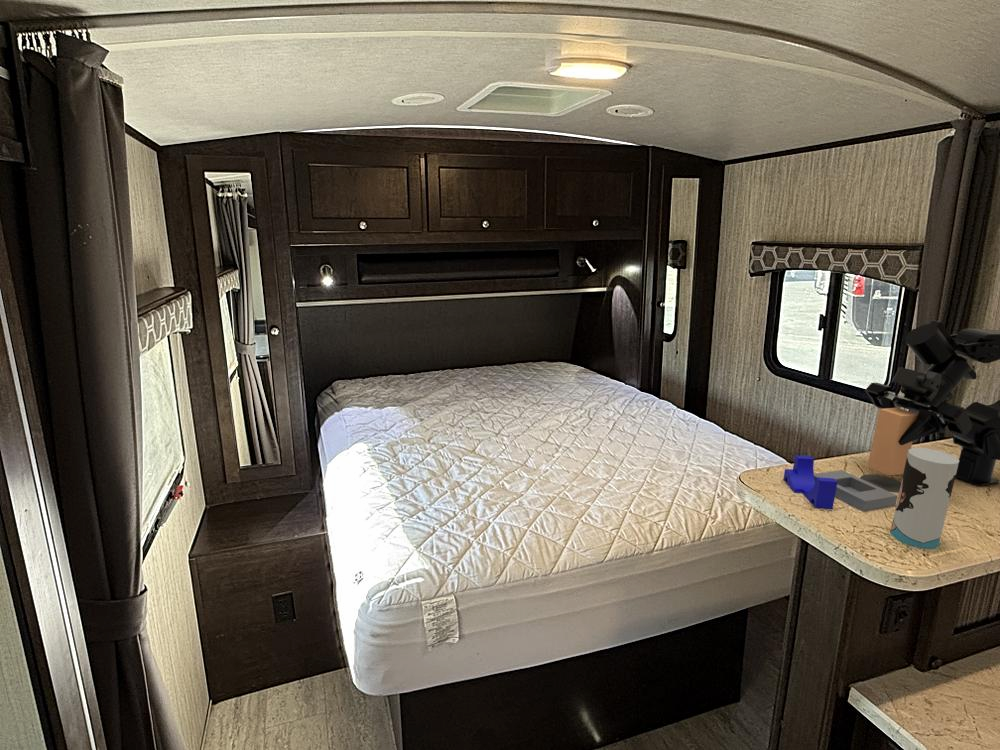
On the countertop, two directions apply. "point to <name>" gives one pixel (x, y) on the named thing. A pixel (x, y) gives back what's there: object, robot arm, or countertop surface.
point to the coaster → (883, 482)
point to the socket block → (859, 491)
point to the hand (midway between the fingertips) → (887, 439)
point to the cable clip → (810, 483)
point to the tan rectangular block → (890, 441)
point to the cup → (924, 497)
